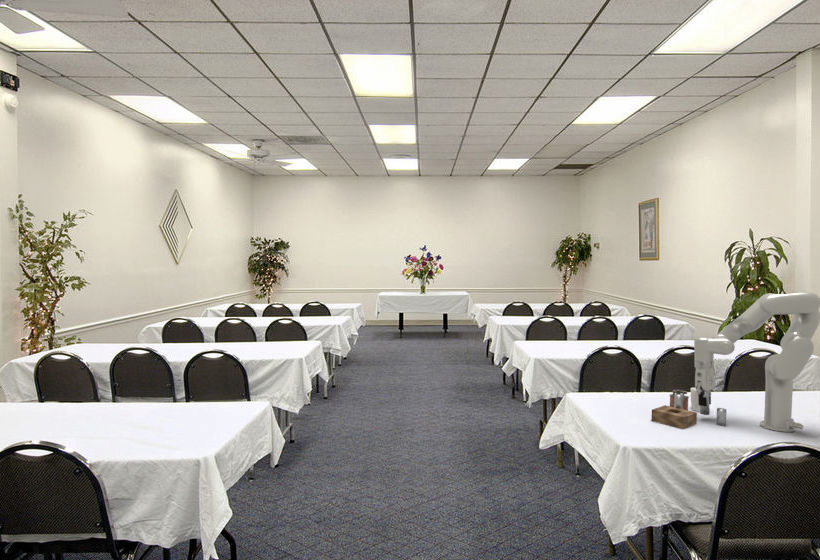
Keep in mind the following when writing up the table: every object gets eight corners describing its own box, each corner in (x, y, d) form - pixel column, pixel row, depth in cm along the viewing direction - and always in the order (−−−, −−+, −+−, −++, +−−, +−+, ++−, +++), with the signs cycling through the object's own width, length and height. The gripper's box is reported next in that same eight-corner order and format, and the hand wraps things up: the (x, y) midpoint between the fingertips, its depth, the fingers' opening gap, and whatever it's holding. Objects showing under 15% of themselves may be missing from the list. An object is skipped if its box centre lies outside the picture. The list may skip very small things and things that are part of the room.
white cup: (707, 413, 243) (708, 392, 242) (688, 410, 247) (689, 389, 247) (709, 409, 249) (710, 389, 249) (691, 406, 254) (692, 386, 253)
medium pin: (684, 416, 237) (684, 395, 237) (680, 418, 235) (681, 396, 234) (676, 414, 240) (676, 393, 240) (672, 416, 238) (673, 394, 237)
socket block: (696, 423, 227) (696, 412, 227) (683, 429, 219) (684, 417, 219) (664, 416, 238) (665, 405, 238) (651, 420, 231) (651, 409, 230)
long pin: (710, 413, 233) (710, 383, 233) (707, 415, 231) (706, 384, 231) (702, 412, 236) (702, 381, 236) (698, 413, 234) (698, 383, 234)
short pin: (727, 425, 225) (727, 409, 225) (723, 426, 223) (724, 410, 223) (718, 423, 228) (719, 407, 228) (714, 424, 226) (715, 408, 226)
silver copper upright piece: (669, 410, 246) (669, 390, 246) (669, 408, 249) (669, 388, 249) (688, 413, 243) (689, 392, 242) (688, 411, 246) (688, 390, 245)
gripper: (704, 368, 225) (705, 410, 225) (721, 363, 235) (721, 403, 235) (686, 365, 231) (687, 406, 231) (703, 361, 241) (704, 400, 241)
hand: (704, 404), depth 233 cm, fingers closed on long pin, 3 cm apart
